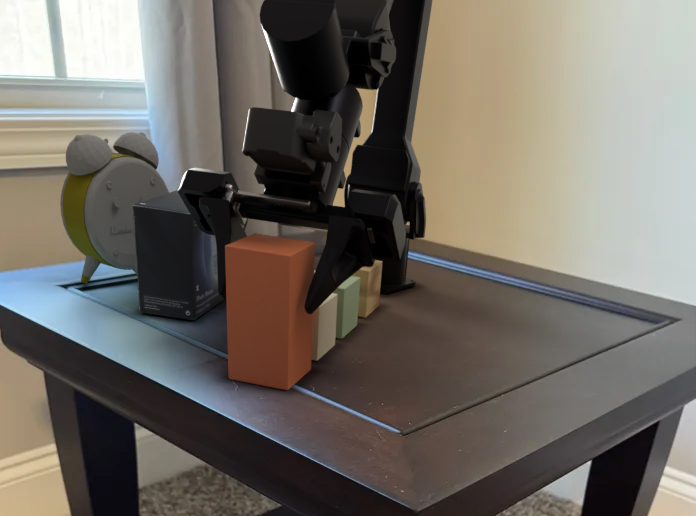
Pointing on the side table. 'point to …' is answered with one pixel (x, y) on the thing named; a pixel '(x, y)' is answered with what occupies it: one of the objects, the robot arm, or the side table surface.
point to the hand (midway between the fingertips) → (264, 304)
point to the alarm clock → (107, 197)
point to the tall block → (269, 309)
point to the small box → (173, 259)
